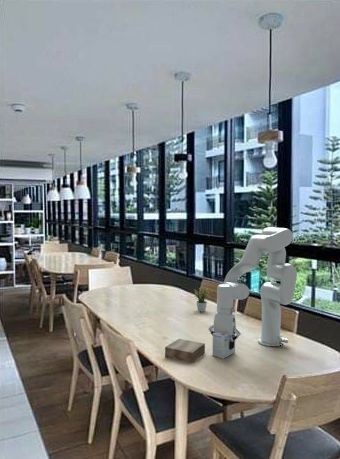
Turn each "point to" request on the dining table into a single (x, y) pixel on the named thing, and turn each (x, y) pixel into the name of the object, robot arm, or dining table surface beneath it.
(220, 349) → the light bulb box
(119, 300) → the dining table surface
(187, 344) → the walnut block
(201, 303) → the house plant
